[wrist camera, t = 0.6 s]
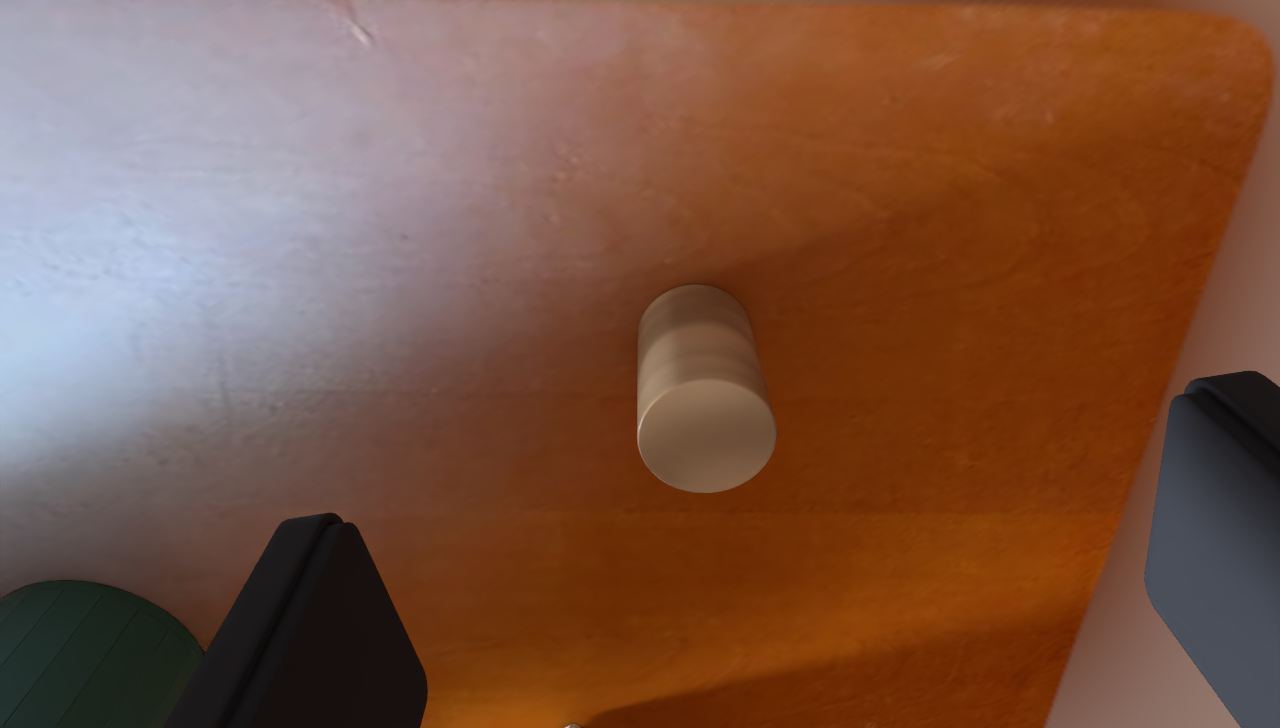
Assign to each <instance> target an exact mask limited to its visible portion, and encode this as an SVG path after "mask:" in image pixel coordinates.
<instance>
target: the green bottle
mask: <svg viewBox="0 0 1280 728" xmlns="http://www.w3.org/2000/svg"><path fill="white" fill-rule="evenodd" d="M203 657H204V654H203V652H202V649H201V648H200V646H199V645H198V643H197V642H196V640H195V639H194V637H193V636H192V635H191V634H190V633H189V632H188V630H187V629H186V628H185V627H184V626H182V625H181V624H180V623H179V622H178V621H177V620H176V619H174V618H173V617H172V616H170V615H169V614H168V613H166V612H165V611H163V610H162V609H160V608H159V607H157V606H155V605H154V604H152V603H150V602H148V601H146V600H144V599H142V598H140V597H138V596H135V595H133V594H130V593H128V592H125V591H122V590H119V589H116V588H112V587H109V586H105V585H100V584H96V583H89V582H82V581H66V580H63V581H48V582H41V583H36V584H32V585H29V586H25V587H23V588H20V589H18V590H16V591H14V592H12V593H10V594H9V595H7V596H6V597H4V598H3V599H2V600H1V601H0V728H163V726H164V725H165V723H166V721H167V719H168V718H169V716H170V714H171V712H172V711H173V709H174V707H175V705H176V704H177V702H178V700H179V698H180V697H181V695H182V693H183V691H184V690H185V688H186V686H187V684H188V683H189V681H190V679H191V678H192V676H193V674H194V672H195V671H196V669H197V667H198V665H199V664H200V662H201V660H202V658H203Z"/></svg>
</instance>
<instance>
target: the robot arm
mask: <svg viewBox="0 0 1280 728" xmlns="http://www.w3.org/2000/svg"><path fill="white" fill-rule="evenodd" d="M1145 586H1146V590H1147V594H1148V596H1149V599H1150V601H1151V603H1152V605H1153V606H1154V608H1155V610H1156V611H1157V613H1158V614H1159V615H1160V617H1161V618H1162V619H1163V621H1164V622H1165V624H1166V625H1167V626H1168V628H1169V629H1170V630H1171V632H1172V633H1173V634H1174V636H1175V637H1176V639H1177V640H1178V641H1179V643H1180V644H1181V646H1182V647H1183V648H1184V650H1185V651H1186V652H1187V654H1188V655H1189V657H1190V658H1191V659H1192V661H1193V662H1194V664H1195V665H1196V666H1197V668H1198V669H1199V670H1200V672H1201V673H1202V674H1203V676H1204V677H1205V679H1206V680H1207V682H1208V683H1209V684H1210V685H1211V687H1212V688H1213V690H1214V691H1215V692H1216V694H1217V695H1218V697H1219V698H1220V699H1221V701H1222V702H1223V703H1224V705H1225V706H1226V708H1227V709H1228V710H1229V712H1230V713H1231V715H1232V716H1233V717H1234V719H1235V720H1236V721H1237V723H1238V724H1239V726H1240V727H1241V728H1280V387H1278V386H1277V385H1276V384H1275V383H1273V382H1272V381H1271V380H1269V379H1268V378H1267V377H1265V376H1264V375H1262V374H1260V373H1258V372H1256V371H1243V372H1237V373H1230V374H1224V375H1217V376H1211V377H1205V378H1198V379H1195V380H1193V381H1191V382H1190V383H1189V384H1188V385H1187V387H1186V388H1185V392H1184V394H1182V395H1178V396H1176V397H1174V399H1173V400H1172V401H1171V405H1170V408H1169V415H1168V422H1167V428H1166V435H1165V442H1164V448H1163V455H1162V461H1161V468H1160V475H1159V482H1158V488H1157V495H1156V501H1155V508H1154V514H1153V521H1152V528H1151V534H1150V541H1149V547H1148V554H1147V561H1146V567H1145ZM427 694H428V687H427V679H426V674H425V671H424V669H423V667H422V665H421V662H420V660H419V658H418V656H417V654H416V652H415V650H414V647H413V645H412V643H411V641H410V639H409V637H408V635H407V632H406V630H405V628H404V626H403V624H402V622H401V620H400V617H399V615H398V613H397V611H396V609H395V607H394V605H393V603H392V600H391V598H390V596H389V594H388V592H387V590H386V588H385V585H384V583H383V581H382V579H381V577H380V575H379V573H378V570H377V568H376V566H375V564H374V562H373V560H372V558H371V555H370V553H369V551H368V549H367V547H366V545H365V543H364V540H363V538H362V536H361V534H360V532H359V530H358V528H357V527H356V526H355V525H354V524H353V523H350V522H346V523H344V522H343V521H342V519H341V518H340V517H339V516H338V515H337V514H335V513H325V514H318V515H312V516H305V517H299V518H293V519H287V520H285V521H283V522H282V523H281V524H280V525H279V527H278V528H277V530H276V531H275V533H274V535H273V536H272V538H271V540H270V542H269V543H268V545H267V547H266V549H265V550H264V552H263V554H262V556H261V557H260V559H259V561H258V563H257V564H256V566H255V568H254V570H253V571H252V573H251V575H250V577H249V578H248V580H247V582H246V584H245V585H244V587H243V589H242V590H241V592H240V594H239V596H238V597H237V599H236V601H235V603H234V604H233V606H232V608H231V610H230V611H229V613H228V615H227V617H226V618H225V620H224V622H223V624H222V625H221V627H220V629H219V631H218V632H217V634H216V636H215V637H214V639H213V641H212V643H211V644H210V646H209V648H208V650H207V651H206V653H205V655H204V657H203V658H202V660H201V662H200V664H199V665H198V667H197V669H196V671H195V672H194V674H193V676H192V678H191V679H190V681H189V683H188V684H187V686H186V688H185V690H184V691H183V693H182V695H181V697H180V698H179V700H178V702H177V704H176V705H175V707H174V709H173V711H172V712H171V714H170V716H169V718H168V719H167V721H166V723H165V725H164V726H163V728H420V726H421V722H422V718H423V714H424V711H425V707H426V702H427Z"/></svg>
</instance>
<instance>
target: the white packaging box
mask: <svg viewBox="0 0 1280 728" xmlns="http://www.w3.org/2000/svg"><path fill="white" fill-rule="evenodd" d="M566 728H582V727H580V726H578V725H576V724H574V723H572V724H571V725H569V726H567V727H566Z"/></svg>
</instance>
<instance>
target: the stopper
mask: <svg viewBox="0 0 1280 728" xmlns="http://www.w3.org/2000/svg"><path fill="white" fill-rule="evenodd" d="M776 439H777V427H776V421H775V417H774V414H773V410H772V406H771V402H770V398H769V394H768V390H767V386H766V383H765V379H764V375H763V371H762V367H761V363H760V359H759V355H758V352H757V348H756V344H755V340H754V336H753V332H752V328H751V325H750V321H749V318H748V315H747V313H746V311H745V310H744V308H743V307H742V305H741V304H740V303H739V302H738V301H737V300H736V299H735V298H734V297H733V296H731V295H730V294H728V293H727V292H725V291H723V290H721V289H718V288H715V287H712V286H707V285H698V284H694V285H685V286H680V287H677V288H674V289H671V290H669V291H667V292H665V293H664V294H662V295H660V296H659V297H658V298H656V299H655V300H654V301H653V302H652V303H651V304H650V305H649V307H648V308H647V309H646V311H645V312H644V314H643V316H642V318H641V321H640V323H639V328H638V343H637V440H638V447H639V452H640V454H641V457H642V459H643V461H644V462H645V464H646V466H647V467H648V468H649V469H650V471H651V472H652V473H653V474H654V475H655V476H656V477H658V478H659V479H660V480H662V481H663V482H665V483H667V484H668V485H670V486H672V487H675V488H677V489H681V490H684V491H688V492H695V493H714V492H721V491H725V490H729V489H732V488H734V487H737V486H739V485H741V484H743V483H745V482H747V481H748V480H750V479H751V478H753V477H754V476H755V475H756V474H758V473H759V472H760V471H761V470H762V468H763V467H764V466H765V465H766V463H767V462H768V461H769V459H770V457H771V455H772V453H773V450H774V448H775V444H776Z"/></svg>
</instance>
